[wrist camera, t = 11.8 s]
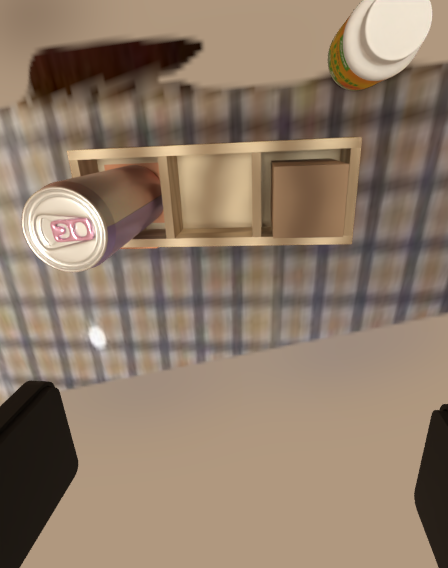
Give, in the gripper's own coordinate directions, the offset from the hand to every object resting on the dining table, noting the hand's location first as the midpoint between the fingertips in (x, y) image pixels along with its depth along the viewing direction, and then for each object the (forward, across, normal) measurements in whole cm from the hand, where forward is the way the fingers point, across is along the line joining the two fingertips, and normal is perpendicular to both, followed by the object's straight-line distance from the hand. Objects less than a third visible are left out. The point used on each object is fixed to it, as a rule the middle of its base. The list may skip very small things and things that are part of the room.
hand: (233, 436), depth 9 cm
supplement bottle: (+31, -8, -14) cm, 34 cm away
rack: (+30, +5, -2) cm, 30 cm away
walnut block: (+29, -3, -2) cm, 30 cm away
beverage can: (+29, +13, -2) cm, 32 cm away
